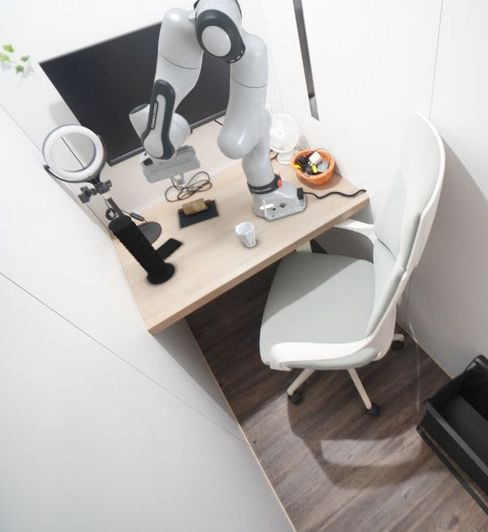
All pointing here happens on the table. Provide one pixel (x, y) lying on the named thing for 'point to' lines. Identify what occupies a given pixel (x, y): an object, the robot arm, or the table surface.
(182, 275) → the table surface
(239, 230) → the cup
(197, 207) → the rolling pin
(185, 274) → the table surface
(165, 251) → the smartphone
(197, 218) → the mat
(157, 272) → the handle grip
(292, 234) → the table surface
